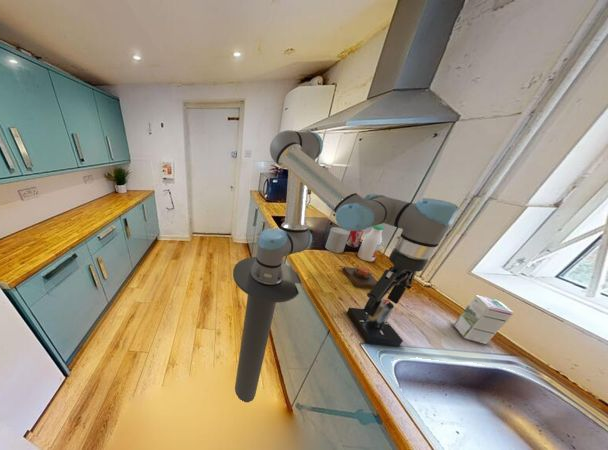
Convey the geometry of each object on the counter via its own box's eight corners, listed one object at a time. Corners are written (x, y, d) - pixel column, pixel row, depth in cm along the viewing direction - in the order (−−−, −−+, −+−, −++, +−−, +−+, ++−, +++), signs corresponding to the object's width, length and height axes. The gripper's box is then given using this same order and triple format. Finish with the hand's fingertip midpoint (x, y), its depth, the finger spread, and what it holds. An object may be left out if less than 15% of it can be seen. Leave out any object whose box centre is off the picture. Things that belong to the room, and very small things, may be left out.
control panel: (346, 313, 75) (349, 307, 74) (374, 316, 74) (377, 309, 73) (366, 343, 64) (369, 336, 63) (399, 346, 63) (403, 340, 62)
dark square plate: (342, 270, 99) (344, 263, 98) (363, 272, 98) (366, 265, 97) (355, 287, 88) (358, 279, 87) (379, 289, 88) (383, 282, 86)
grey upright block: (377, 331, 65) (389, 310, 61) (361, 319, 69) (371, 299, 65) (386, 325, 67) (398, 305, 63) (370, 314, 71) (380, 295, 67)
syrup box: (487, 344, 65) (517, 313, 59) (462, 338, 67) (489, 306, 61) (474, 330, 69) (500, 299, 63) (451, 324, 71) (475, 294, 65)
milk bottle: (365, 262, 106) (379, 229, 98) (353, 254, 113) (365, 222, 105) (377, 261, 107) (392, 228, 99) (365, 253, 114) (378, 222, 106)
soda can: (358, 245, 123) (365, 228, 118) (356, 249, 119) (363, 231, 114) (346, 241, 127) (353, 225, 122) (344, 245, 123) (350, 227, 118)
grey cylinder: (333, 243, 124) (339, 226, 119) (347, 251, 116) (354, 233, 111) (321, 245, 121) (327, 228, 116) (334, 254, 113) (341, 235, 108)
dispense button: (355, 270, 94) (356, 266, 93) (364, 270, 94) (365, 267, 93) (360, 275, 90) (362, 271, 89) (369, 276, 90) (371, 272, 89)
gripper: (416, 239, 64) (388, 289, 73) (370, 255, 54) (345, 309, 64) (449, 251, 58) (414, 303, 67) (403, 271, 48) (370, 329, 57)
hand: (380, 306), depth 65 cm, fingers open, 13 cm apart
